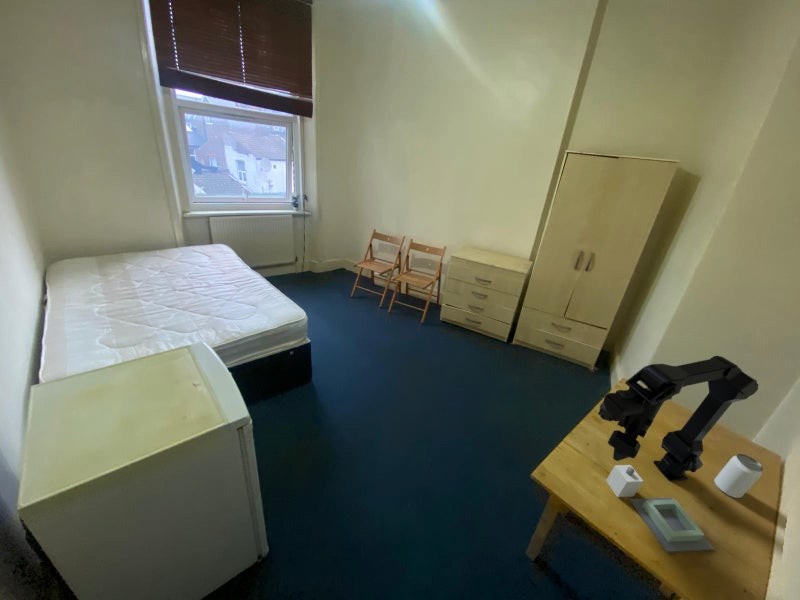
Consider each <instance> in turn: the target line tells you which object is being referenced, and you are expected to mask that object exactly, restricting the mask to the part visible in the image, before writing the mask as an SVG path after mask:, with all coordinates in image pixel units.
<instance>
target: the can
mask: <svg viewBox="0 0 800 600" xmlns="http://www.w3.org/2000/svg"><path fill="white" fill-rule="evenodd" d="M763 471H764V467H763V466H762V464H761V463H760V462H759V461H757V460H756V459H755V458H753V457H752V456H749V455H747V454H743V453H737V454H736V455H734V456H732V457H731V458H730V459H729V461H728V462H727V463H726V464H725V465H724V467H723V468H722V469H721V470H720V472H719V473H718V474H717V475H716V476H715V478H714V481H713V482H714V484H715V486H716V488H718V489H719V490H720V492H722V493H724V494H725V495H727V496H729V497H731V498H734V499H740V498H742V497H744V495H745V494H746V493H747V492H748V491H749V490H750V488H751V487H752V486H753V485H754V484H755V483H756V482H757V481H758V480H759V479H760V478H761V476H762V475H763Z"/></svg>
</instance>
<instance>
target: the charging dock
mask: <svg viewBox="0 0 800 600" xmlns="http://www.w3.org/2000/svg"><path fill="white" fill-rule="evenodd" d="M629 502H630V503H631V504H632V506H633V507H634V509H635V510H636V512H637V513H638V514H639V516H640V518H642V520H643V521H644V523H645V524H646V525H647V527H648V528H649V530H650V532H651V533H652V534H653V535H654V537H655V538H656V540H657V541H658V543H659V544H660V545H661V547H662V548H663V550H664V551H665V553H683V552H684V553H686V552H699V551H700V552H703V551H714V547H713V546H712V544H710V542H709V541H708V539H706V537H705V533H704V532H703V531H702V530H701V528H700V527H698V525H697V523H695V521H694V520H693V519H692V517H691V516H689V514H688V513H687V512H686V510H685V509H684V508H683V507H682V506H681V505H680V503H678V501H677V500H676V499H674V498H673V497H648V498H647V497H645V498H630V499H629Z"/></svg>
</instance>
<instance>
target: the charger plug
mask: <svg viewBox="0 0 800 600" xmlns="http://www.w3.org/2000/svg"><path fill="white" fill-rule="evenodd" d="M605 482H607V484H608V486H609V487H610V488H611V490H612V491H613V493H614V494H615V496H616V497H617V498H628V497H629V498H632V497H634V496H635V495H636V493H637V492H638V491H639V489H640V487H641V486H642V485H643V483H644V480H643V478H642V477H641V476H640V475H639V473H637V471H636V470H635V468H634V467H633V465H632V464H619V465H618V464H617V465H616V464H615V465H614V467H613V468H612V470H611V471H610V473H609V475H608V477H607V478H606V481H605Z"/></svg>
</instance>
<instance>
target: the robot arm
mask: <svg viewBox="0 0 800 600" xmlns="http://www.w3.org/2000/svg"><path fill="white" fill-rule="evenodd" d="M639 382H641V384H643V385H644V386H646V387H644V386H642V385H641V384H640V383H639ZM706 382H707V387H708V393H707V395H706V396H705V397H704V399H703V400H702V401H701V403H700V404H699V405H698V407H697V408H696V409H695V411H694V412H693V413H692V415H691V416H690V418H688V420H687V421H686V422H685V424H684V425H683V427H682V428H681V429H679V430H678V429H677V430H672V431H668V432H667V433H666V435H665V436H664V437H663V438H662V441H661V444H660V447H661V448H662V449H663V450H665V452H666V453H665V454H664V455H663V457H661V459H660V460H653V464H654V465H655V466H656V468H658V470H659V471H660V472H661V473H662V474H663V475H664V476H665V478H666V479H667V480H668V481H673V482H674V481H675V482H676V481H687V480H689V478H688V477H687V476H686V472H691V473H696V472H697V470H699V469H701V468H702V466H704V464H703V462H702V460H701V458H700V457H701V455H702V454H703V453H704V445H703V440H704V438H705V437H706V436H707V435H708V434H709V432H710V431H711V430H712V428H713V427H715V425H716V423H718V421H719V420H720V419H721V417H722V416H723V415H724V413H725V412H726V411H727V410H728V409H729V407H730V406H731V405H732V404H733V403H736V402H741V401H744V400H747V399H748V398H749V397H751V396H753V395H754V394H755V393H757V391H758V390H759V383H758V381H757V379H755V378H754V377H752V376H750V375H749V374H747V373H745V372H743V370H742V369H741V367H739V365H737V364H735V363H734V362H732V361H730V360H728V359H727V358H726V357H724V356H720V355H714V356H712V357H711V358H709V359H708V358H707V359H704V360H699V361H694V362H688V363H684V364H679V365H671V364H665V363H652V364H648V365H645V366H643V367H642V368H641V369H639V370H638V371H637V372H636V373H634V375H632V376H631V377H630V378H628V379H627V380H626V381H625V382H624V383H625V384H626V385H627V386H628V387H629V388H628V389H618V390H616V391H615V392H609V393H607V394H605V396H604V397H603V398H604V399H603V400H602V402H601V404H600V405H599V411H598V413H597V414H598V415H599V417H600V419H602V420H604V421H608V422H613V421H614V422H618V423H617V424H616V425H617V426H619V427H621V428H623V429H624V432H623V431H621V430H613V432H612V434H610V437H609V438H608V440H607V444H608V445H609V446H610V447H613V455H612V458H613V460H614V461H615V462H620V461H622V460H626V459H628V458H631V459H635V458H636V456H637V455H638V453H639V450H640V449H641V447H642V445H641V444H640V442H639V440H637V439H638V437H641V438H645V436H646V434H647V432H648V430H649V428H650V427H651V426H652V425H653V422H654V420H655V418H656V417H657V415H658V413H659V411H660V409H661V408H662V405H664V404H665V403H664V402H666V401H667V400H672V399H673V397H674V396H676V395H678V394H680V393H681V391H682V388H685V387H688V386H693V385H698V384H702V383H706Z"/></svg>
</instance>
